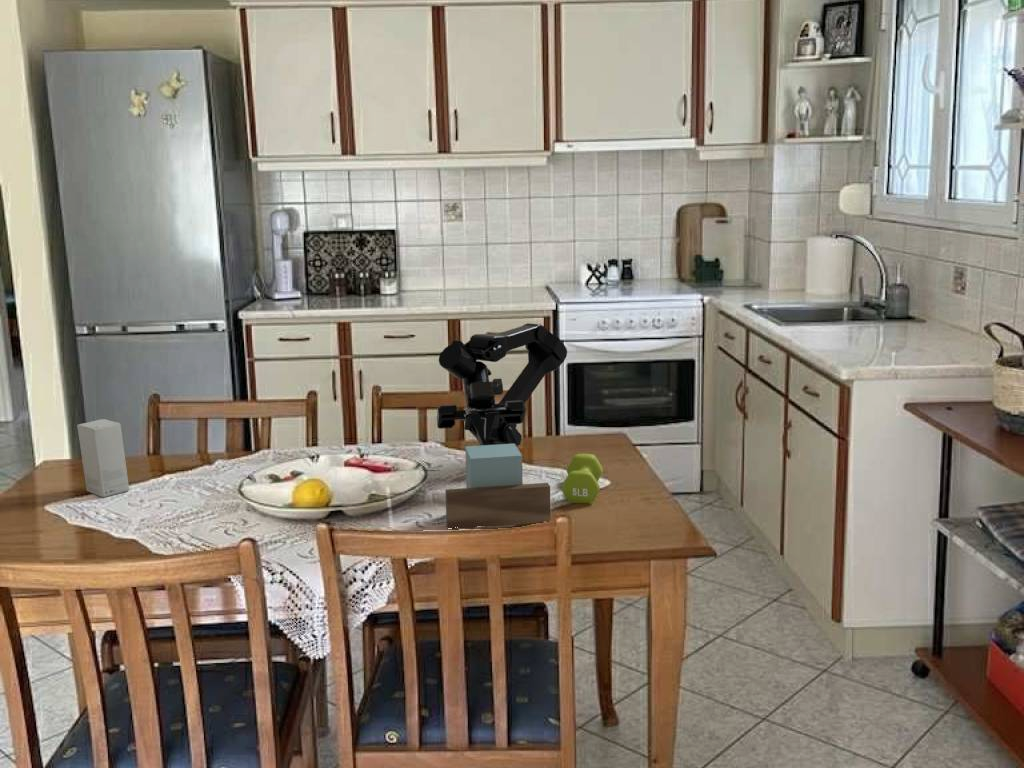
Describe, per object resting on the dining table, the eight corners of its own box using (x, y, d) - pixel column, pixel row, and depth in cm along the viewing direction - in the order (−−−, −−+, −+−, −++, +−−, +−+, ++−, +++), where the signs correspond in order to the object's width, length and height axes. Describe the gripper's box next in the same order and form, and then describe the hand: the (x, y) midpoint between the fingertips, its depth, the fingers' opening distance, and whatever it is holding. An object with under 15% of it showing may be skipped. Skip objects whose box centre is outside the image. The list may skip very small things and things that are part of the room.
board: (446, 529, 192) (445, 489, 190) (548, 521, 195) (547, 482, 193) (447, 533, 189) (446, 493, 188) (550, 525, 192) (550, 486, 191)
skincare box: (129, 491, 219) (122, 423, 216) (100, 498, 214) (93, 429, 211) (112, 484, 225) (105, 417, 221) (83, 491, 220) (76, 423, 217)
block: (467, 508, 201) (465, 446, 198) (515, 504, 203) (514, 443, 200) (472, 523, 192) (470, 458, 190) (523, 519, 194) (522, 455, 191)
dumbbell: (599, 508, 202) (599, 474, 201) (560, 507, 204) (559, 473, 202) (603, 484, 218) (603, 452, 217) (567, 483, 220) (567, 451, 218)
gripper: (436, 367, 208) (444, 431, 200) (523, 363, 212) (534, 426, 203) (433, 396, 217) (440, 458, 209) (517, 392, 221) (527, 452, 212)
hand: (485, 448), depth 208 cm, fingers closed
